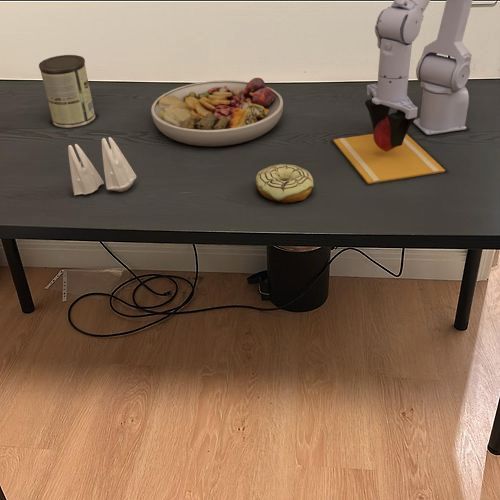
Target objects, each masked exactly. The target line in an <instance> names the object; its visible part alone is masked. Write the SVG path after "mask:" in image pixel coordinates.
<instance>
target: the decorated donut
mask: <svg viewBox="0 0 500 500" xmlns="http://www.w3.org/2000/svg"><path fill="white" fill-rule="evenodd" d="M255 177H256V178H255V184H256V187H257V191H258V192H259V193H260V194H261V195H262V196H263V197H264V198H265V199H268V200H270V201H276V202H280V203H281V202H282V203H283V204H288V203H296V202H301V201H305V199H307V197H309V195H310V194H311V193H312V190H313V188H314V186H315V185H314V178H313V176H312V174H311V173H310V172H309V171H308V170H307V169H306V168H303V167H301V166H298V165H294V164H288V163H284V164H283V163H280V164H273V165H270V166H267V167H266V168H263V169H262V170H259V171H258V173H257V174H256V176H255Z"/></svg>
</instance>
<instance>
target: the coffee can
mask: <svg viewBox="0 0 500 500" xmlns="http://www.w3.org/2000/svg"><path fill="white" fill-rule="evenodd" d="M38 69H39V70H40V75H41V79H42V83H43V86H44V92H45V95H46V100H47V103H48V107H49V112H50V116H51V120H52V124H53V125H54V126H56V127H58V128H64V129H69V128H70V129H71V128H78V127H83V126H85V125H88V124H90V123H92V122H93V121H94V120H95V119H96V112H95V107H94V103H93V98H92V93H91V88H90V83H89V78H88V73H87V68H86V60H85V58H84V57H83V56H81V55H78V54H62V55H55V56H51V57H48V58H45V59H43V60H42V61H41V62H39V63H38Z"/></svg>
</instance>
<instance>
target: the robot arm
mask: <svg viewBox="0 0 500 500" xmlns="http://www.w3.org/2000/svg"><path fill="white" fill-rule="evenodd" d="M473 1H474V0H446V1H445V4H444V9H443V12H442V16H441V20H440V24H439V29H438V33H437V37H436V39H435V40H434V41H432V42H430V43H428V44H427V45H425V46H424V47H423V49H422V50H423V51H422V54H421V57H420V59H419V60H418V62H417V64H416V69H415V75H416V80H417V81H418V82H419V83H420V86H419V87H421V88H422V95H421V103H420V104H421V105H420V112H419V118H417V117H418V110H419V107H418V106H416V105H414V103H413V102H412V99H410V97H409V96H408V87H409V75H410V69H411V57H412V56H411V55H412V47H413V42H414V41H415V40H416V39H417V37H419V34H420V31H421V27H422V23H423V20H424V12H425V10H426V9H427V7H428V5H429V4H430V2H431V0H393V2H392V4H391V5H390V6H387V7H386V8H384V9H382V10H381V12H379V14H378V16H377V18H376V23H375V24H374V33H375V36H376V39H377V43H376V45H377V48H378V49H379V58H378V59H379V60H378V72H377V83H373V84H367V85H366V95H367V96H369V97H370V99H366V100H365V101H364V104H365V105H364V106H365V107H366V109H367V110H368V113H369V117H370V120H371V125H372V126H371V127H372V131H373V132H374V129H375V127H376V125H377V124H378V123H379V122H380V121H382V120H383V119H385V118H386V117H388V120H389V123H390V128H391V146H392V147H397V146H401V145H402V143H403V141H404V138H405V136H406V134H408V131H409V129H410V128H411V126H412V124H414V125H415V126H416V127H417V128H418V129H420V130H421V131H422V132H423V133H424V134H425V135H427V136H431V135H438V134H444V133H451V132H458V131H459V132H460V131H465V130H467V126H466V122H467V114H468V108H469V104H470V102H469V101H470V96H469V91H468V89H467V87H466V85H467V83H468V80H469V78H470V75H471V63H472V62H471V61H472V56H473V55H472V53H471V52H470V50H469V49H468V48H467V47H466V46H465V45H464V43H463V39H464V36H465V32H466V28H467V24H468V20H469V16H470V14H471V13H470V12H471V8H472V4H473ZM391 108H393V109H394V110H395V111H396V112H392V113H390V110H391Z"/></svg>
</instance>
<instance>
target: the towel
mask: <svg viewBox="0 0 500 500" xmlns="http://www.w3.org/2000/svg"><path fill="white" fill-rule="evenodd" d="M332 142H333V143H334V145H336V146H337V148H338V149H339V150H340V152H341V153H342V154H343V156H344V157H345V158H346V159H347V160H348V162H349V163H350V164H351V165H352V167H353V168H354V169H355V170H356V172H357V173H358V174H359V175H360V176H361V178H362V179H363V180H364V181H365V182H366V184H367V185H371V184H377V183H382V182H390V181H397V180H404V179H409V178H417V177H421V176H422V177H423V176H427V175H434V174H441V173H445V172H446V169H445V168H444V167H442V166H441V165H440V164H439V163H438V162H437V161H436V160H435V159H434V158H433V157H432V156H431V155H430V154H429V153H428V152H427V151H425V150H424V149H423V148H422V147H421V146H420V145H419V144H418V143H417V142H416V141H415V140H414V139H412V138H411V137H410V136H409V134H408V133H406V136H405V138H404V141H403V143H402V145H401V146H397V147H395V148H393V149H391V150H390V151H387V152H386V151H384V150H382V149H380V148H379V147H378V146H377V145H376V143H375V141H374V139H373V133H369V134H362V135H355V136H348V137H339V138H335V139H334V138H333V139H332Z"/></svg>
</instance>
